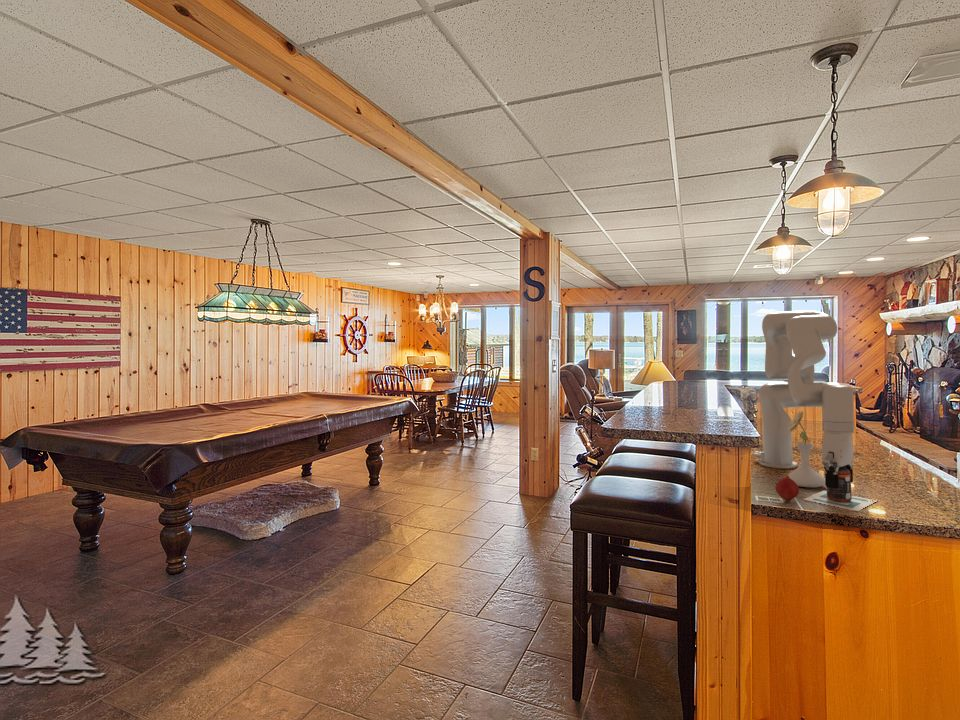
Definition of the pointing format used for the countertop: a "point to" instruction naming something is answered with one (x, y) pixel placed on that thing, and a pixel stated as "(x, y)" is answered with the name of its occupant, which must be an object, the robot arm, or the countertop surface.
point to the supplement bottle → (841, 487)
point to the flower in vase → (804, 460)
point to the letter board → (854, 504)
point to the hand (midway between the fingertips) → (839, 484)
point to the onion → (787, 488)
